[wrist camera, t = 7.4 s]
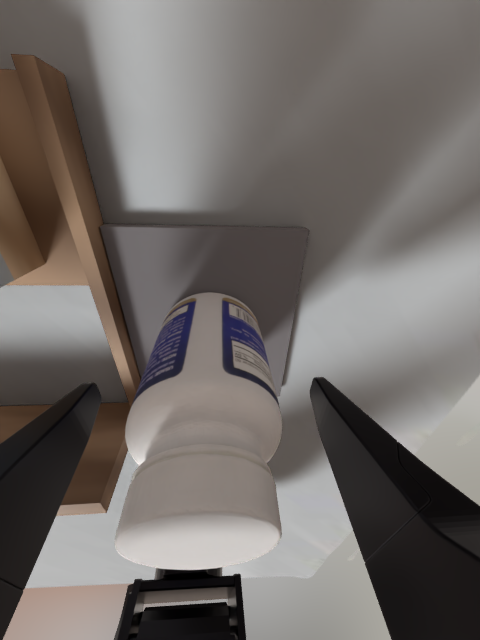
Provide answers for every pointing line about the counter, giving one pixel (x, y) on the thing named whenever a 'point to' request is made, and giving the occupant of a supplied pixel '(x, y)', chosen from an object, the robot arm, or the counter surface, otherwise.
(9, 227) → the offcut lower
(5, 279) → the offcut upper
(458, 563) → the robot arm
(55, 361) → the counter surface
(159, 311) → the mat
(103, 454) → the rack
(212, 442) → the pill bottle
